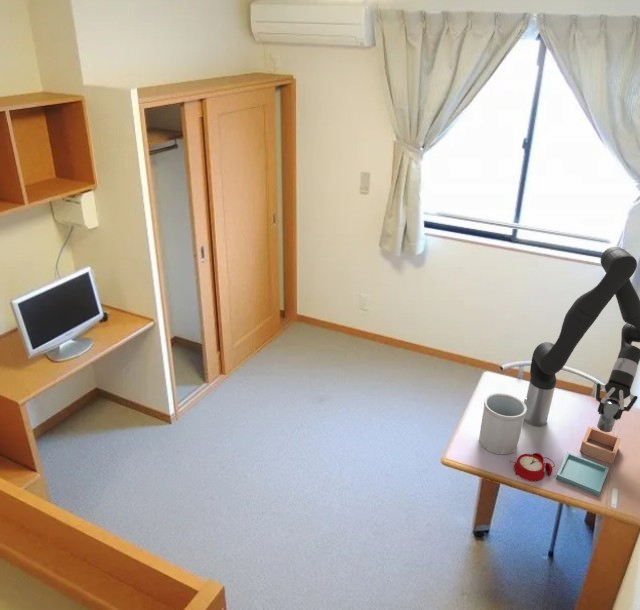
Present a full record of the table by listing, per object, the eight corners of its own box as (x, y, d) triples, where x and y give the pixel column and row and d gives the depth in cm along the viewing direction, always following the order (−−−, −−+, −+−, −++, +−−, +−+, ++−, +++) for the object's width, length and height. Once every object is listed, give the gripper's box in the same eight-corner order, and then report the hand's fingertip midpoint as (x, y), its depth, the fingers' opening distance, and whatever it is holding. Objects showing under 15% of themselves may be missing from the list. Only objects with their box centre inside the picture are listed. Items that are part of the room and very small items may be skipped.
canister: (595, 428, 212) (603, 403, 207) (598, 421, 216) (606, 397, 211) (610, 434, 210) (618, 409, 205) (613, 426, 214) (621, 402, 209)
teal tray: (555, 478, 204) (556, 474, 203) (566, 456, 214) (567, 452, 213) (598, 496, 197) (600, 492, 196) (607, 472, 207) (608, 467, 206)
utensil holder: (484, 424, 229) (490, 387, 221) (523, 438, 223) (531, 400, 215) (472, 446, 218) (478, 408, 210) (512, 461, 211) (521, 422, 203)
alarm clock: (506, 457, 208) (542, 441, 211) (507, 469, 211) (542, 454, 214) (524, 477, 199) (562, 460, 202) (524, 490, 202) (562, 473, 205)
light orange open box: (579, 451, 216) (581, 442, 214) (586, 435, 225) (589, 426, 223) (612, 464, 211) (615, 454, 208) (618, 447, 219) (621, 437, 217)
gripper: (602, 363, 213) (587, 407, 209) (646, 377, 206) (630, 422, 202) (601, 369, 219) (586, 411, 216) (644, 383, 212) (629, 426, 209)
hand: (608, 416), depth 209 cm, fingers closed on canister, 5 cm apart
